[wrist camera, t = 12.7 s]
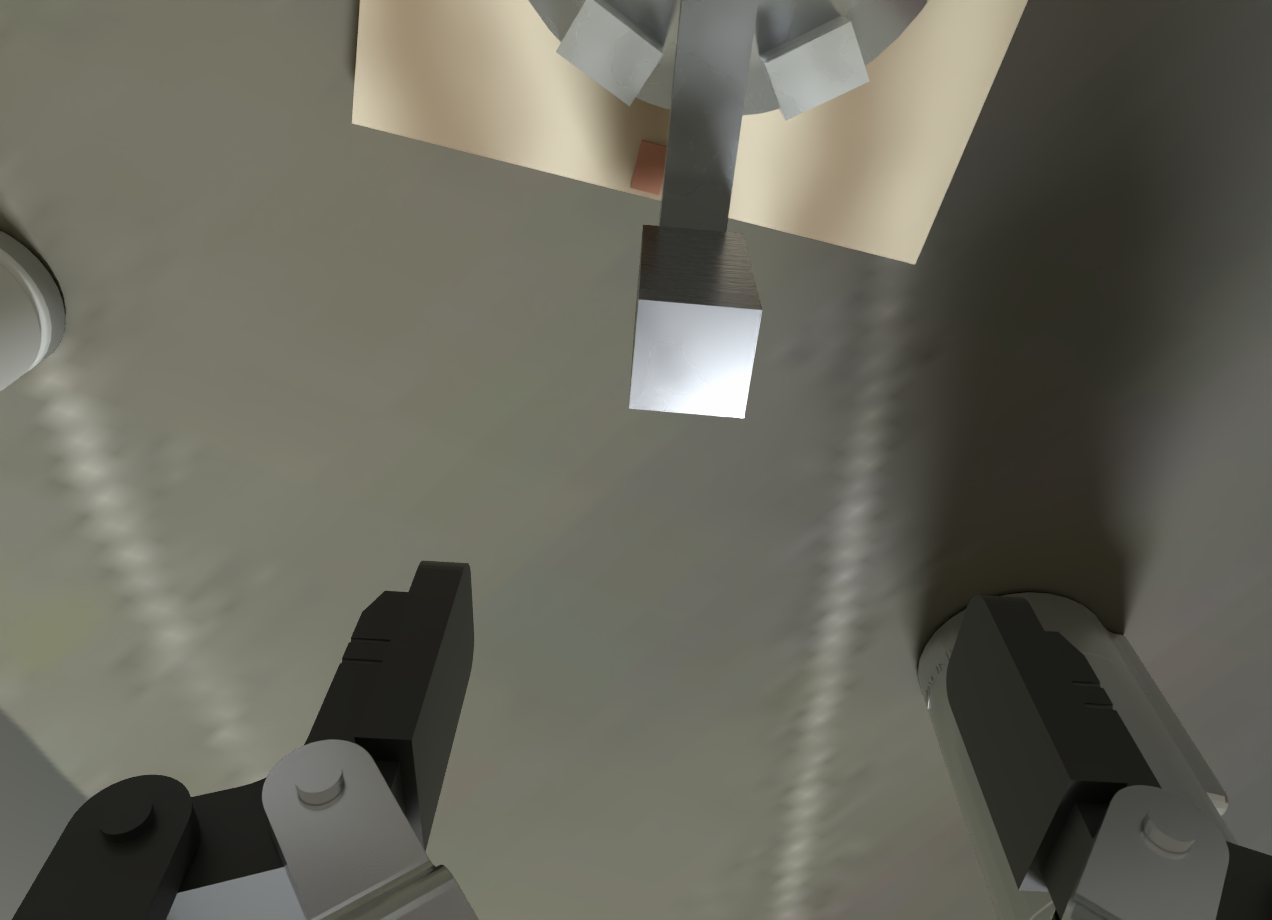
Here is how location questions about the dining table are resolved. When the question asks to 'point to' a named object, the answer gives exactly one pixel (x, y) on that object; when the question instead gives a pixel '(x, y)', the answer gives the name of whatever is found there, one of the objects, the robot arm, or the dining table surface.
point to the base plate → (637, 134)
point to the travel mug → (26, 311)
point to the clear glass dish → (712, 157)
